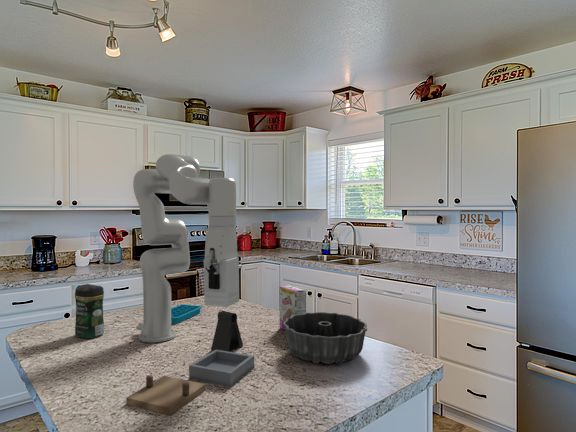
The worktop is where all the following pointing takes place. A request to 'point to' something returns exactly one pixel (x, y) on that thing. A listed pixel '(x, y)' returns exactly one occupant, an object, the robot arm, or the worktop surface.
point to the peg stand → (165, 394)
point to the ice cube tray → (184, 312)
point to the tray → (221, 367)
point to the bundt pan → (325, 336)
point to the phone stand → (227, 333)
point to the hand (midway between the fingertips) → (222, 285)
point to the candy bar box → (291, 302)
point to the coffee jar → (89, 311)
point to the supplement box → (223, 284)
